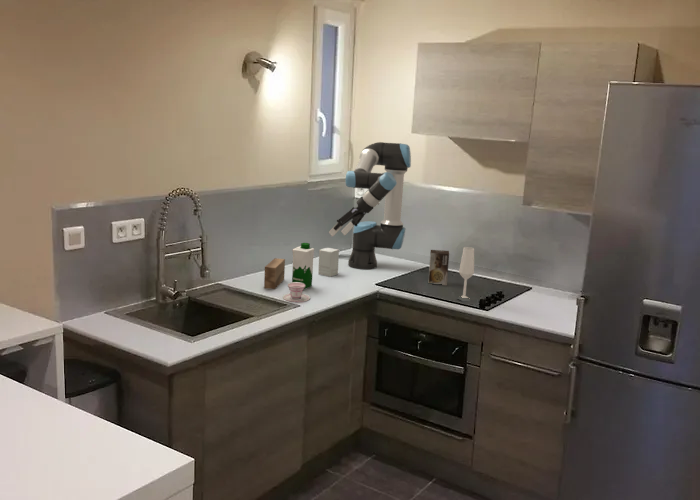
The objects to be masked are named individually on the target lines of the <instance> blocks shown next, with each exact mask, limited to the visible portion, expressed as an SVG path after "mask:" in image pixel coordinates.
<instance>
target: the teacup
mask: <svg viewBox="0 0 700 500" xmlns="http://www.w3.org/2000/svg"><path fill="white" fill-rule="evenodd" d="M287 287H288V290H289V293H286V294H283V296H282V299H283V300H285V301H288V302H292V303H293V302H294V303H304V302H308V301H309V300H310V299H311V296H310V295H308V294H305V293H303V292H304V290H305V289H304V288H305V284H303V283H300V282H292V281H291V282H289V283H287Z"/></svg>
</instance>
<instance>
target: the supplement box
mask: <svg viewBox="0 0 700 500" xmlns="http://www.w3.org/2000/svg"><path fill="white" fill-rule="evenodd" d="M318 250H319V251H318V252H319V253H318V275H320V276H325V277H334V276H336V275H338V274H339V259H340V257H339V256H340V255H339V254H340V249H336V248H332V247H324V248H321V249H318Z"/></svg>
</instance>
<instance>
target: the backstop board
mask: <svg viewBox="0 0 700 500" xmlns="http://www.w3.org/2000/svg"><path fill="white" fill-rule="evenodd" d="M285 266H286V259H285V258H276V257H275V258H273V259H272V260H271V261H270V262H269V263H268V264H266V265H265V266H264V277H263V278H264V279H263V280H264V282H263V283H264V287H263V288H264V289H268V290H269V289H270V290H276V289H277V288H278V286H280V285H281V283H283V281H284V280H285V269H286V267H285Z"/></svg>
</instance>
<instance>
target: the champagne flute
mask: <svg viewBox="0 0 700 500" xmlns="http://www.w3.org/2000/svg"><path fill="white" fill-rule="evenodd" d="M474 273H475V248H474V247H470V246H464V247H463V250H462V253H461V259H460V265H459V270H458V274H459V275H460V276H461V277H462V279H464V280H463V281H464V282H463V288H462V289H463V291H462V295H461V297H462V298H469V297H468V295H466V294H467V283H468V280H469V279H470V278H471V277H473V275H475V274H474Z"/></svg>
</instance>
